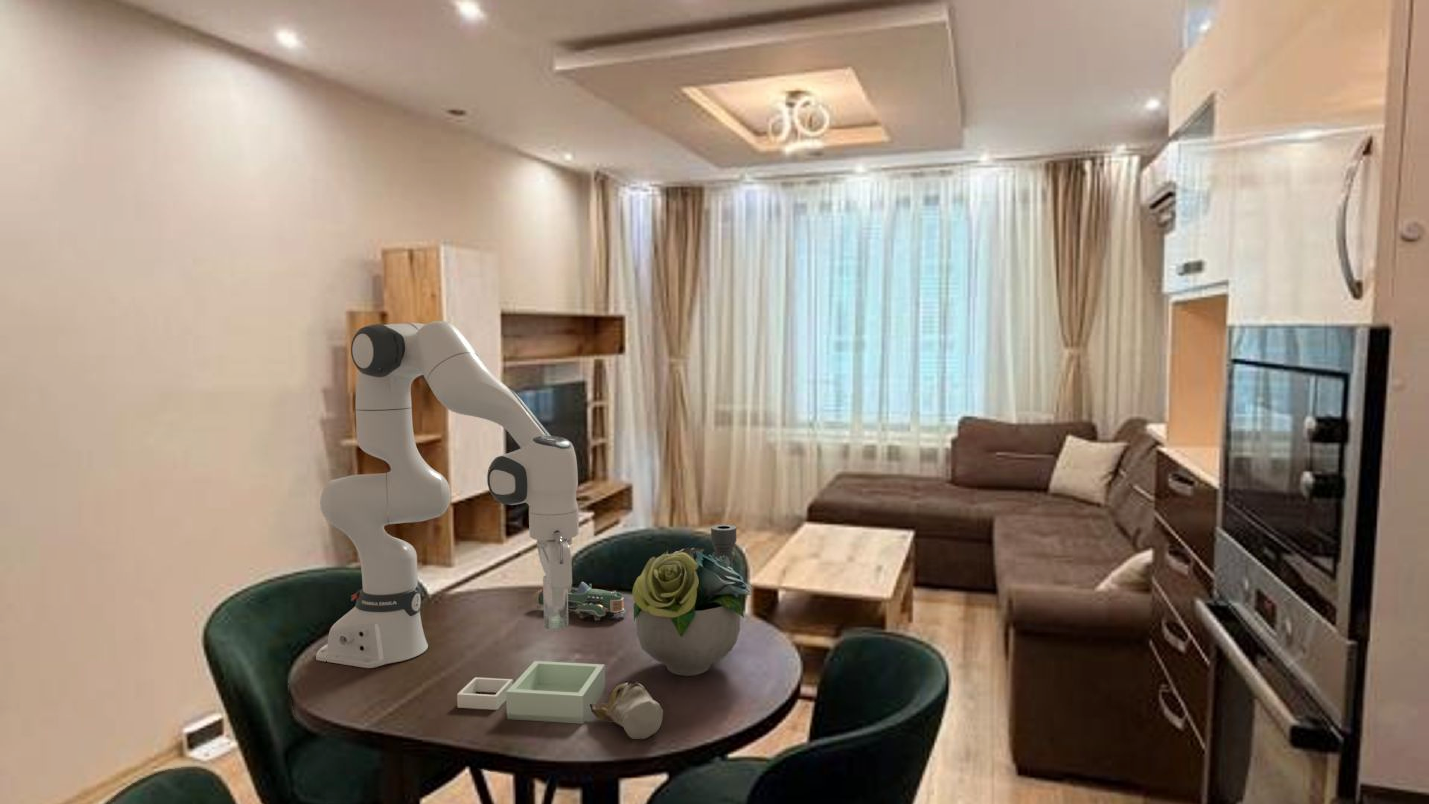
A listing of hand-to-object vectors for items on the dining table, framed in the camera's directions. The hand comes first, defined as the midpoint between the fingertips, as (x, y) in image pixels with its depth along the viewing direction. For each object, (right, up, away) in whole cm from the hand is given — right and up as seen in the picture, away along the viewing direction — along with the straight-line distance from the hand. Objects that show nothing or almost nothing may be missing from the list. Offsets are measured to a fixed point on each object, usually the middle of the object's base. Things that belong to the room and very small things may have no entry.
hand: (555, 600), depth 149 cm
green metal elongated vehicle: (-5, -16, +52) cm, 54 cm away
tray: (0, -19, +1) cm, 20 cm away
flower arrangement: (+24, -18, +17) cm, 35 cm away
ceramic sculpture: (+15, -20, -7) cm, 26 cm away
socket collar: (-14, -19, +3) cm, 24 cm away
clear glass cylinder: (0, -5, 0) cm, 5 cm away
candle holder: (+31, -17, +35) cm, 50 cm away
